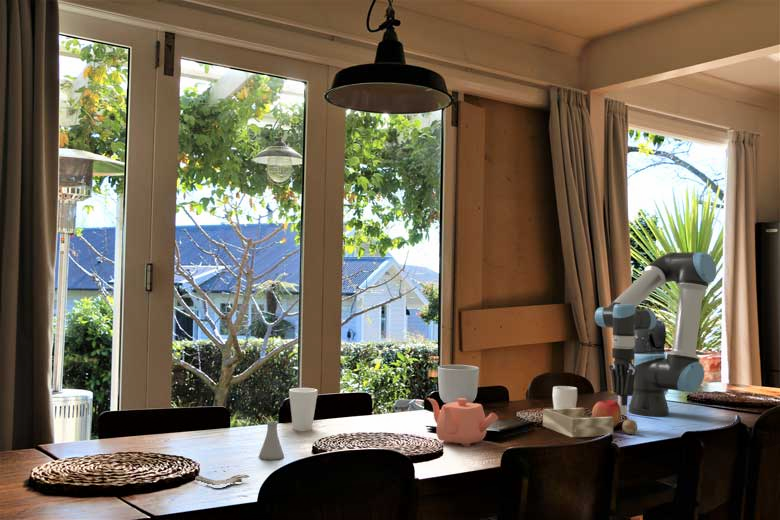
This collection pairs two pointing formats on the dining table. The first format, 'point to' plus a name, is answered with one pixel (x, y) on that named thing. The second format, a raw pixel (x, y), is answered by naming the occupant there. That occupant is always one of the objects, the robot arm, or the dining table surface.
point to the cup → (564, 397)
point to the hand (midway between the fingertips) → (622, 414)
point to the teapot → (461, 422)
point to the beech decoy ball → (629, 426)
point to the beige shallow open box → (576, 422)
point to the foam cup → (302, 407)
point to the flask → (271, 443)
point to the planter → (457, 382)
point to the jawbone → (213, 482)
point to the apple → (607, 410)
